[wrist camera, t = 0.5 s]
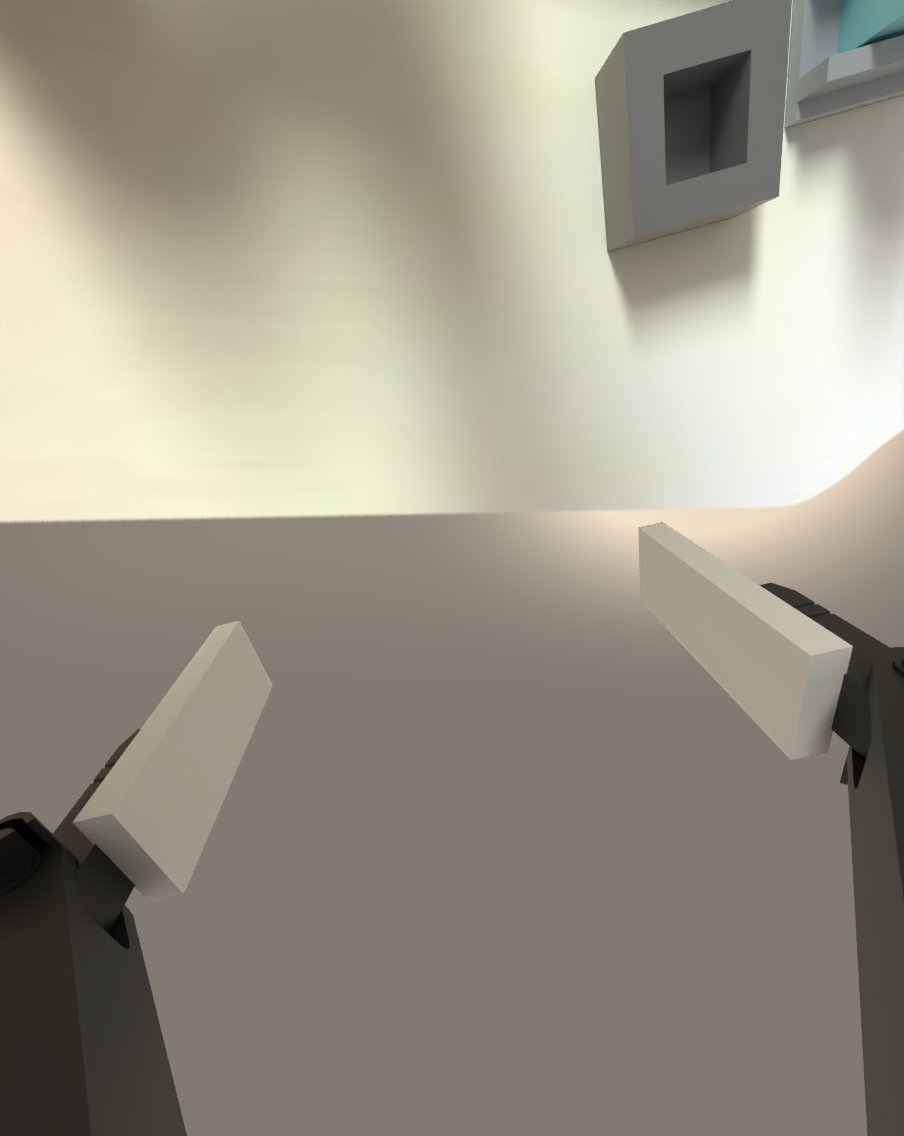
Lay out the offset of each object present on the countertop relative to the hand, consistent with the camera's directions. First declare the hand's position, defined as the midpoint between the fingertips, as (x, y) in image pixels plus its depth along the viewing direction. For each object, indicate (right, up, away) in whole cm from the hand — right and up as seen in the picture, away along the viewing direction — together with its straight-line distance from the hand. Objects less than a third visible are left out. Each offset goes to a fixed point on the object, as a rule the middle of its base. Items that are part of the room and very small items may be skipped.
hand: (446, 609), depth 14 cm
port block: (+16, +32, +17) cm, 39 cm away
